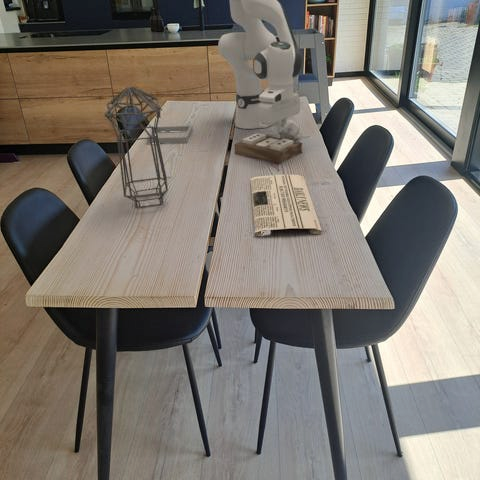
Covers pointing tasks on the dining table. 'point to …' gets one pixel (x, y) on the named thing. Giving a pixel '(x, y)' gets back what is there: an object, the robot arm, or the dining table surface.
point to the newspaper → (282, 204)
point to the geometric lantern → (155, 138)
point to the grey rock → (290, 130)
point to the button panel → (268, 151)
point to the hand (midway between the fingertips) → (280, 131)
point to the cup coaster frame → (173, 139)
